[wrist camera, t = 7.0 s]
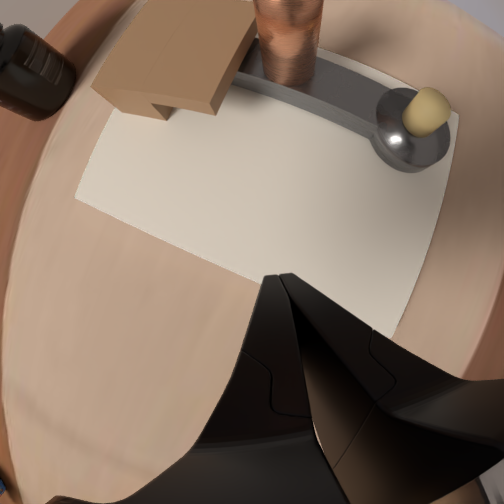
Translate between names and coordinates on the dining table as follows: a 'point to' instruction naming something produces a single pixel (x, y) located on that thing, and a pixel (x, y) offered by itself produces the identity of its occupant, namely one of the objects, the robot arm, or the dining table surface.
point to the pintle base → (259, 165)
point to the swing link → (331, 85)
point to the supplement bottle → (32, 74)
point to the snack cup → (2, 487)
